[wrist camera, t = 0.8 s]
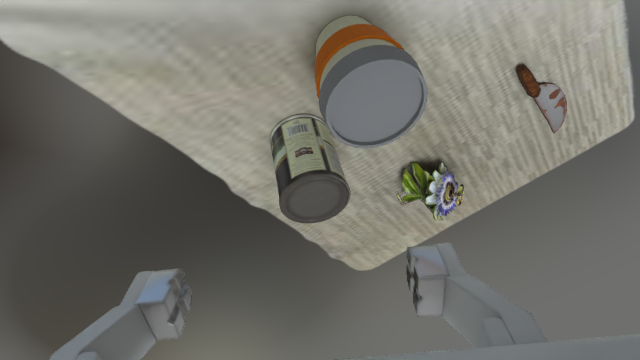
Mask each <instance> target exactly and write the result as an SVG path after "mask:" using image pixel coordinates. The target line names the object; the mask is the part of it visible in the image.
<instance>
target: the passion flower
mask: <svg viewBox="0 0 640 360" xmlns="http://www.w3.org/2000/svg"><path fill="white" fill-rule="evenodd" d="M410 164H411V166H412V172H413V175H414V177H415V178H416V180H417V182H418V183H419V188H418V187H417V186H416V184H415V182H414V181H413V180H412V177H411V175H410V174H409V172H408V171H407V170H406V168H405V169H404V172H403V177H402V185H403V188H404V190H405V191H406V192H407V193H409V194H410V195H406V196H404V197H403V200H404V201H408V203H410V202H413V201H415V200H417V199H420V200H421V201H422V202H423V203H424V204H425V205H426V207H427V208H428V209H429V210H430V211H431V212H432V213H433V217H434V219H435V221H436V220H443V219H442V217H441V215H444V216H445V215H447V213H448V214H449V211H450V212H452V209H453V210H454V207H457V206H456V205H455V203H454V201H456V202H457V204H458V206H460V204H461V202H462V200H463V195H464V193H465V191H464V190H463V189H464V186H463V184H462V185H460V187H458V183H457V182H456V181H455V180H454V175H452V172H448V171H447V170H446V168H447V167H444V165H443V163H440V164H439V165H438V168H437V171H436V170H435V171H434V172H433V173H432V175H430V174H429V173H428V172H427V171H425V170H424V171H423V170H422V169H421V167H420V166H419V164H417V163H412V162H411V163H410ZM425 176H426V177H425ZM427 184H428V189H429V190H428V194H426V189H427ZM458 190H459V192H458ZM396 195H397V197H398V199H399V201H400V203H401V205H405V204H408V203H405V204H402V203H404V202H403V201H402V199H401V198H400V196H399V194H398V193H397V194H396ZM426 195H427V196H426Z"/></svg>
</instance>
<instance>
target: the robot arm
mask: <svg viewBox="0 0 640 360" xmlns="http://www.w3.org/2000/svg"><path fill="white" fill-rule="evenodd" d="M407 259H408V262H409V263H408V264H407V267H406V268H407V281H408V285H409V289H410V292H411V293H413V303H414V306H415V309H416V313H417V316H418V317H426V316H443V318H445V319H446V320H447V321H448V322H449V323H450V324H451V325H452V326H453V327H454V328H455V329H456V330H457V331H458V332H459V333H460V334H461V335H462V336H463V337H465V338H466V339H467V340H468V341H469V342H470V343H471V344H472V345H473V346H474V347H475V348H469V349H456V350H444V351H432V352H421V353H408V354H398V355H385V356H373V357H361V358H350V359H349V358H348V359H337V360H640V334H636V335H624V336H612V337H600V338H589V339H576V340H564V341H552V342H548V341H547V339H546V337H545V336H544V334H543V332H542V331H541V329H540V327H539V326H538V324H537V322H536V321H535V319H534V318H533V316H532V314H531V313H530V312H528V311H527V310H525V309H524V308H522V307H520V306H519V305H517V304H516V303H514V302H513V301H511V300H510V299H508V298H506V297H505V296H503V295H502V294H500V293H499V292H497V291H496V290H494V289H492V288H491V287H489V286H488V285H486V284H485V283H483V282H481V281H480V280H478V279H477V278H475V277H474V276H472V275H466V273H465V271H464V269H463V267H462V265H461V263H460V261H459V259H458V256H457V254H456V253H455V250H454V248H453V246H452V244H450V243H442V244H436V245H425V246H415V247H407ZM184 279H185V275H184V272H183V270H182V269H170V270H155V271H144V272H139V273H138V274H137V275H136V277H135V278H134V280H133V282H132V284H131V286H130V287H129V289H128V291H127V293H126V295H125V297H124V298H123V300H122V302H121V304H120V306H118V307H114V308H113V309H111V310H110V311H109V312H107V313H106V314H105V315H104V316H102V317H101V318H99V319H98V320H97V321H96V322H94V323H93V324H92V325H90V326H89V327H88V328H86V329H85V330H84V331H82V332H81V333H80V334H78V335H77V336H76V337H74V338H73V339H72V340H70V341H69V342H68V343H66V344H65V345H64V346H63V347H61V348H60V349H58V350H57V351H56V352H54V353H53V354H52V356H51V357H50V359H49V360H140V359H141V358H142V357H143V356H144V355H145V354H146V353H147V351H148V350H149V349H150V348H151V347H152V346H153V345H154V344H155V343H156V340H164V339H173V338H180V336H181V333H182V331H183V328H184V325H185V319H184V316H185V315H186V314H187V313H188V312H189V310H190V307H191V301H192V294H191V289H190V287H189V285H188V284H186V283H185V282H184Z"/></svg>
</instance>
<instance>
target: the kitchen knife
mask: <svg viewBox="0 0 640 360" xmlns="http://www.w3.org/2000/svg"><path fill="white" fill-rule="evenodd" d="M517 72H518V75H519V78H520V80H521V83H522V85H523V87H524V89H525V90H526V91H527V92H528V95H529V96H531V97H532V98H534V99H535V101H536V103H537V104H538V106H539V108H540V109H541V111H542V113H543V114H544V116H545V118H546V119H547V121H548V123H549V124H550V126H551V128H552V130H553V133H555V132H556V131H557V130H558V129H559V128H560V127H561V126H562V124H563V121H564V118H565V115H566V111H567V101H566V98H565V95H564V93H563V92H562V90H561V89H560V88H559V87H557V86H556V85H554V84H549V83H546V84H541V85H539V86H538V82H537V81H536V79H535V78H534V76H533V75H532V73H531V72H530V71H529V69H528V68H527V67H526V66H525V65H521V66H519V67H518V69H517Z"/></svg>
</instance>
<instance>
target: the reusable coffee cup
mask: <svg viewBox="0 0 640 360" xmlns="http://www.w3.org/2000/svg"><path fill="white" fill-rule="evenodd" d="M315 79H316V89H317V95H318V98H319V107H320V111H321V114H322V116H323V118H324V120H325V122H326V124H327V126H328V128H329V130H330V131H331V133H332V134H333V135H334V137H335V138H337V139H338V140H339V141H340V142H342V143H344V144H346V145H348V146H352V147H356V148H374V147H378V146H383V145H385V144H388V143H391V142H393V141H395V140H396V139H398V138H400V137H401V136H403V135H404V134H405V133H407V132H408V131H409V130H410V129H411V128H412V127H413V126H414V125H415V124H416V122H417V121H418V120H419V118H420V117H421V115H422V113H423V111H424V109H425V106H426V102H427V94H428V92H427V85H426V82H425V80H424V77H423V75H422V73H421V71H420V69H419V67H418V65H417V63H416V62H415V60H414V59H413V58H412V56H411V55H409V54H408V53H407V52H405V50H404V49H403V48H402V47H401V45H399V44H398V43H397V42H396V41H395V40H394V39H393V38H391V37H390V36H389V35H388V34H387V33H386V32H384V31H383V30H382V29H380V28H378V27H376V26H373V25H371V24H370V23H369V22H368V21H366V20H365V19H363V18H361V17H358V16H343V17H340V18H337V19H335V20H333V21H332V22H330V23H329V24H328V25H327V26H326V27H325V28H324V29H323V30H322V32H321V33H320V35H319V37H318V39H317V43H316V61H315Z"/></svg>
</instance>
